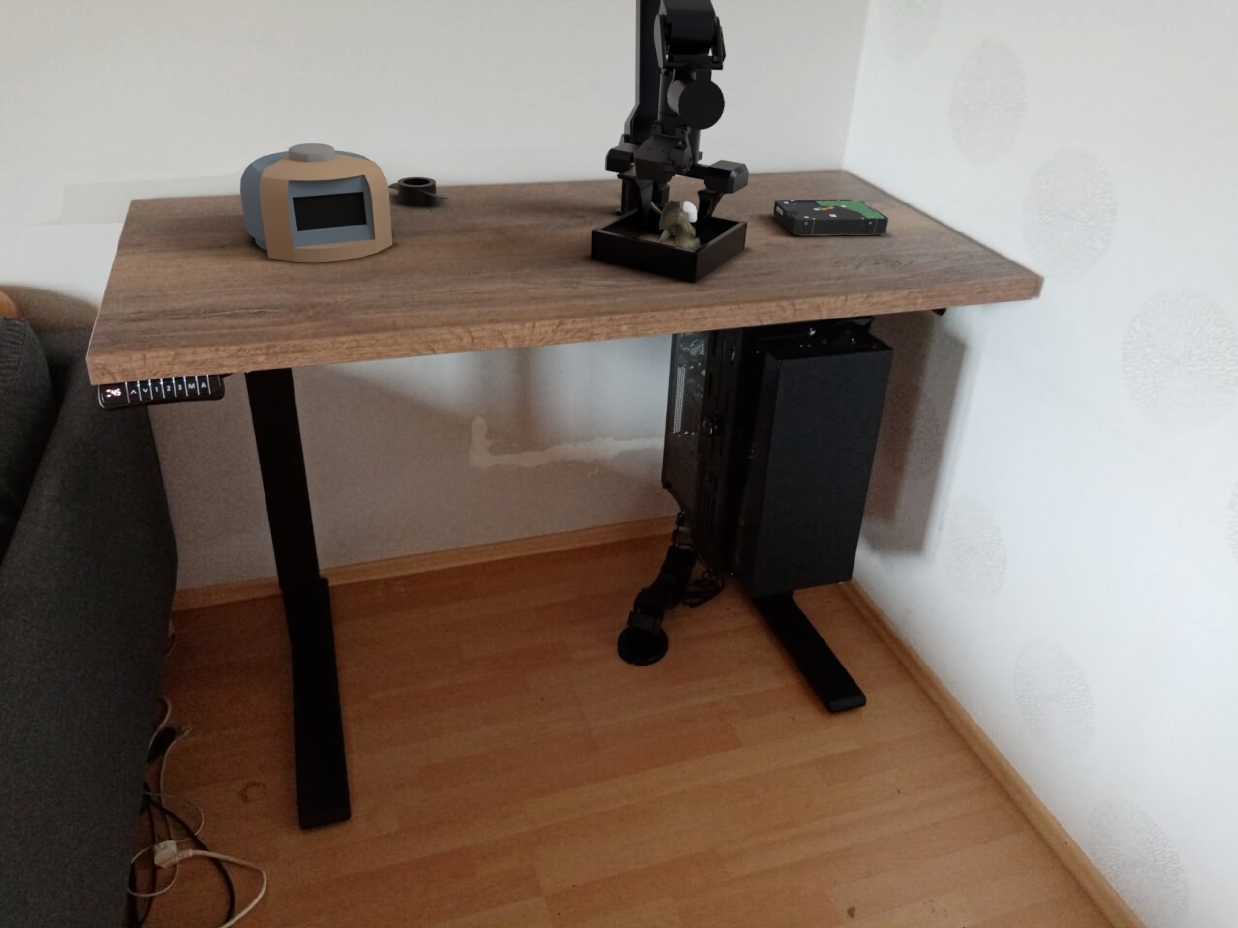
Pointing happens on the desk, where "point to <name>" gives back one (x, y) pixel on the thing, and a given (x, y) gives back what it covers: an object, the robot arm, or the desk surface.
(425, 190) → the duct tape
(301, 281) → the desk surface
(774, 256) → the desk surface
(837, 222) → the disk drive
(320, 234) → the alarm clock
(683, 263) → the desk tidy
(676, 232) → the eagle figurine
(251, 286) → the desk surface
